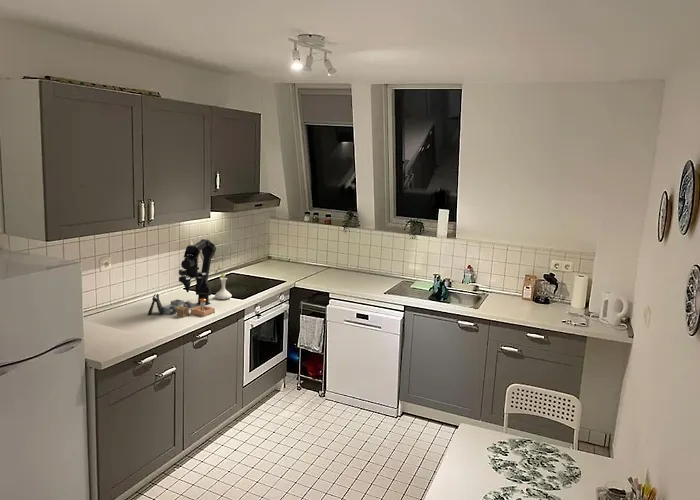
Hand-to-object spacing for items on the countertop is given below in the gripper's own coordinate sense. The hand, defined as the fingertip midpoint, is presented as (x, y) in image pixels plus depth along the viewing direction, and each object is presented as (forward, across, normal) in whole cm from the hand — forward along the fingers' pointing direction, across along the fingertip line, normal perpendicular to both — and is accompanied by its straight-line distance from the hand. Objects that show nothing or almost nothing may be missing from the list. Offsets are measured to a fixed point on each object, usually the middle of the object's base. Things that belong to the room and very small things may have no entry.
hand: (192, 290), depth 337 cm
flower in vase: (+13, -33, -3) cm, 36 cm away
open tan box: (+13, 0, +8) cm, 15 cm away
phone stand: (+14, +17, -14) cm, 26 cm away
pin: (+12, 0, +8) cm, 15 cm away
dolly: (+13, +5, -8) cm, 16 cm away
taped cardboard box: (+13, +11, +2) cm, 17 cm away
